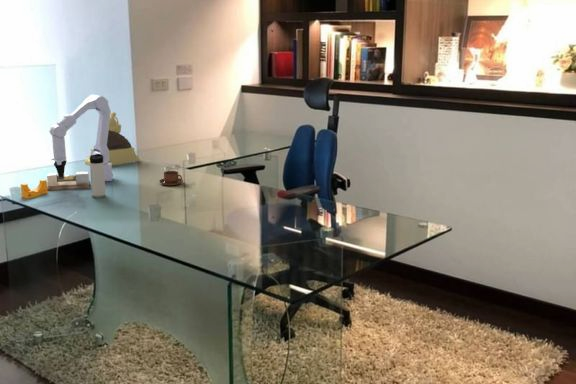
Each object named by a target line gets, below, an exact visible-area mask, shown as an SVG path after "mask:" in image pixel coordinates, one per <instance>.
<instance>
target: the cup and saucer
mask: <svg viewBox="0 0 576 384" xmlns="http://www.w3.org/2000/svg"><path fill="white" fill-rule="evenodd" d="M179 177H180V178H179ZM164 181H165V183H163V182H164ZM183 182H184V180H183V176H182V175H180V174H179V171H176V170H166V171H164V172H163V178H161V179H160V180H159V183H160V184H161V185H164V186H179V185H181V184H182V183H183Z"/></svg>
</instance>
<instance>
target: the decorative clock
mask: <svg viewBox="0 0 576 384" xmlns="http://www.w3.org/2000/svg"><path fill="white" fill-rule="evenodd" d="M121 132H122V124H121V123H119V119H118V117H117V113H116V112H115V111H111V115H110V123H109V131H108V139H107V147H108V149H109V156H110V159H109V161H108V163H112V166H117V165H124V164H123V163H125V164H129V163H128V162H133V161H140V160H141V159H140V157H138V155H137V154H136V151H135V147H133V146H132V144H131V142H130V141H129V139H128V138H126V136H124V135H122V134H121ZM92 151H93V148H91V149H90V153H91V152H92ZM90 156H91V154H90V155H89V157H87V158H86V159H85V160H84V164H85V165H88V166H89V167H90ZM140 162H141V161H140ZM133 163H134V162H133Z"/></svg>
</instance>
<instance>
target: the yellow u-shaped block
mask: <svg viewBox="0 0 576 384" xmlns="http://www.w3.org/2000/svg"><path fill="white" fill-rule="evenodd" d="M20 190H21V191H20V193H21V198H22V199H27V200H28V199H33V198H36V197H39V196H40V195H45V194H48V191H47V180H46V179H40V180H39V184H38V186H37V187H36V188H35V189H31V188H29V185H28V183H25V182H24V183H21V184H20Z"/></svg>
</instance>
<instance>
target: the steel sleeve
mask: <svg viewBox="0 0 576 384" xmlns="http://www.w3.org/2000/svg"><path fill="white" fill-rule="evenodd" d="M75 175H76V185H89V186H90V175H89V171H76V172H75Z"/></svg>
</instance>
